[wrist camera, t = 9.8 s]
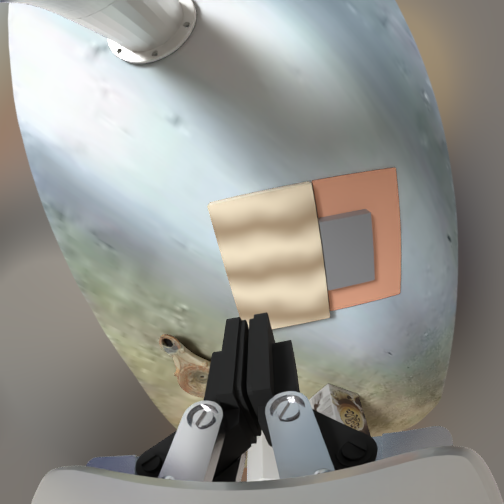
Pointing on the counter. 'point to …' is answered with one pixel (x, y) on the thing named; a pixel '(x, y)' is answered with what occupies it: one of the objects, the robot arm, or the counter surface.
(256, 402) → the robot arm
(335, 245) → the tile
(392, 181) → the mat
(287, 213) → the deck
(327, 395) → the coffee box
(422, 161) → the counter surface
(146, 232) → the counter surface
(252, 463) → the supplement box
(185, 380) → the oil lamp
